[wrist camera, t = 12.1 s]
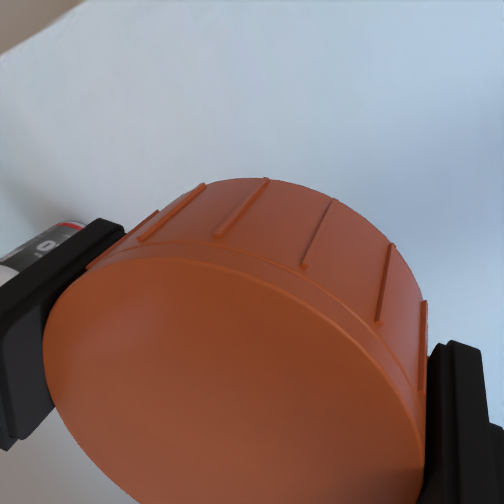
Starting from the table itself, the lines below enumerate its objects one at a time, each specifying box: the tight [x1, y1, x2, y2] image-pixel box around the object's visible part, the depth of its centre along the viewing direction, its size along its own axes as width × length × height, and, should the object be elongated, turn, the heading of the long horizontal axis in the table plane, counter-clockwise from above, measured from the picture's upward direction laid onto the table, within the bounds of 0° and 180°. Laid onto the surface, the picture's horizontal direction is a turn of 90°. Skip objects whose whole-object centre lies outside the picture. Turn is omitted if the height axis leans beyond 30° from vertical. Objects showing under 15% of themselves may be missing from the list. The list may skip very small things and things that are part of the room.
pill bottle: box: [0, 221, 85, 286], centre depth 26 cm, size 5×5×8 cm
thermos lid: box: [42, 177, 429, 504], centre depth 9 cm, size 7×7×3 cm
